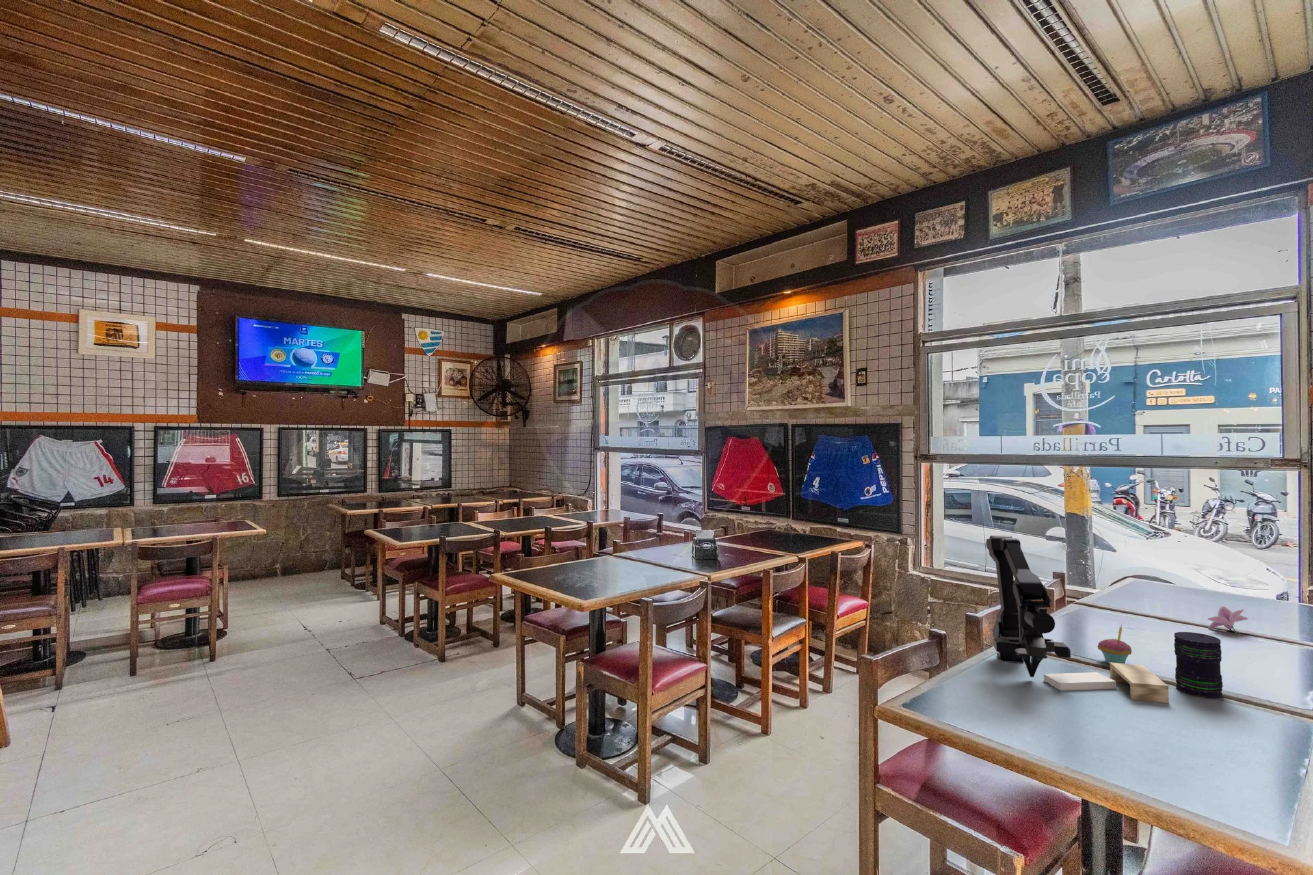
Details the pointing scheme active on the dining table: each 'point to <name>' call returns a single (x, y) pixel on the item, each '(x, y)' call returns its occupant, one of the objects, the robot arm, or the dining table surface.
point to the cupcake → (1115, 649)
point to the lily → (1226, 618)
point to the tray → (1080, 681)
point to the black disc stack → (1198, 665)
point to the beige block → (1140, 682)
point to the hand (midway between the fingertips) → (1031, 676)
